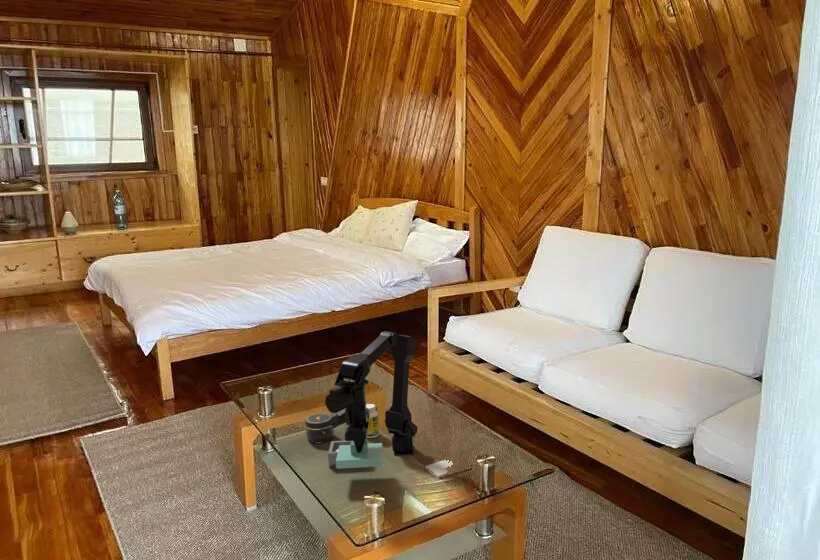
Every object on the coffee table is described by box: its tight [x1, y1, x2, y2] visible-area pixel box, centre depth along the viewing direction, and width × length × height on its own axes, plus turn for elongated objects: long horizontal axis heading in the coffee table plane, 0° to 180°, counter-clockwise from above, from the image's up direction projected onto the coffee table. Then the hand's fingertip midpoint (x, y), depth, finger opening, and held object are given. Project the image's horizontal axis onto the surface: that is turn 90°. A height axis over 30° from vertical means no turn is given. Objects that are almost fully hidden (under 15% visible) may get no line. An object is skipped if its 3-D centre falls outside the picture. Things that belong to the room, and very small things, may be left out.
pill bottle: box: [366, 403, 380, 439], centre depth 219 cm, size 6×6×11 cm
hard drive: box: [425, 459, 453, 478], centre depth 193 cm, size 2×8×12 cm
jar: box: [304, 412, 335, 443], centre depth 219 cm, size 10×10×8 cm
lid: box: [335, 439, 383, 470], centre depth 187 cm, size 13×10×6 cm
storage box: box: [327, 438, 368, 469], centre depth 201 cm, size 12×9×5 cm
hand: (359, 449), depth 187 cm, fingers closed on lid, 3 cm apart
